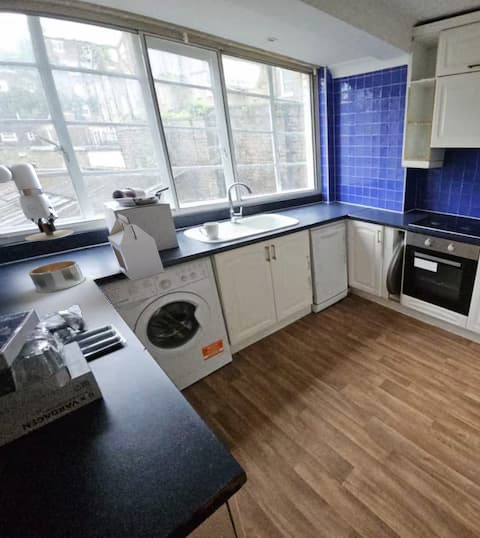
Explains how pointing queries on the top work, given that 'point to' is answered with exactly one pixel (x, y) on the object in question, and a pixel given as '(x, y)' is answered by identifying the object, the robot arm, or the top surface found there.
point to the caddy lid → (48, 234)
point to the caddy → (56, 276)
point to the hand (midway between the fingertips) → (48, 231)
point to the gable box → (134, 250)
